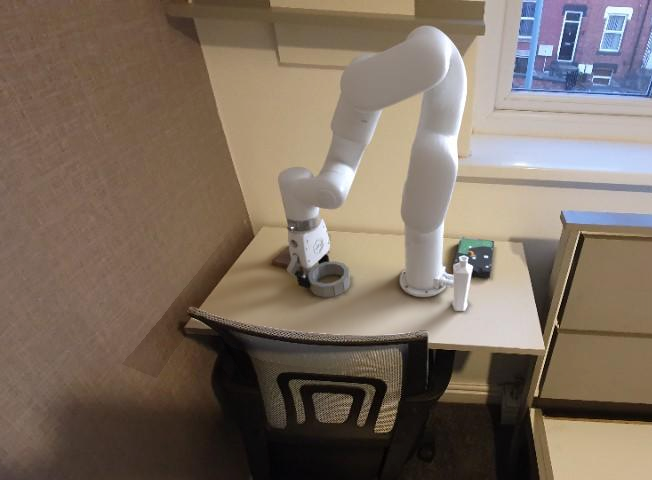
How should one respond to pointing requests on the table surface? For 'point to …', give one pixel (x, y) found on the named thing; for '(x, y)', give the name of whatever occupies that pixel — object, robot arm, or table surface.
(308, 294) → the table surface
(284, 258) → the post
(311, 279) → the tape roll
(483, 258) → the disk drive
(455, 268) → the perfume bottle
